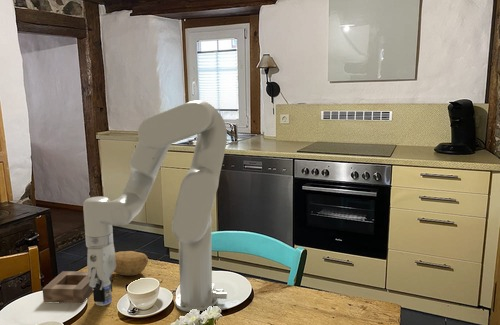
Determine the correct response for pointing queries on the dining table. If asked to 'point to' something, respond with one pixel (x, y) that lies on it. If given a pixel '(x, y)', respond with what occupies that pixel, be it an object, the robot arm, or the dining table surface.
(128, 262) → the potato
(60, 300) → the socket block
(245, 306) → the dining table surface
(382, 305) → the dining table surface
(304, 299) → the dining table surface
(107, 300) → the pill bottle
